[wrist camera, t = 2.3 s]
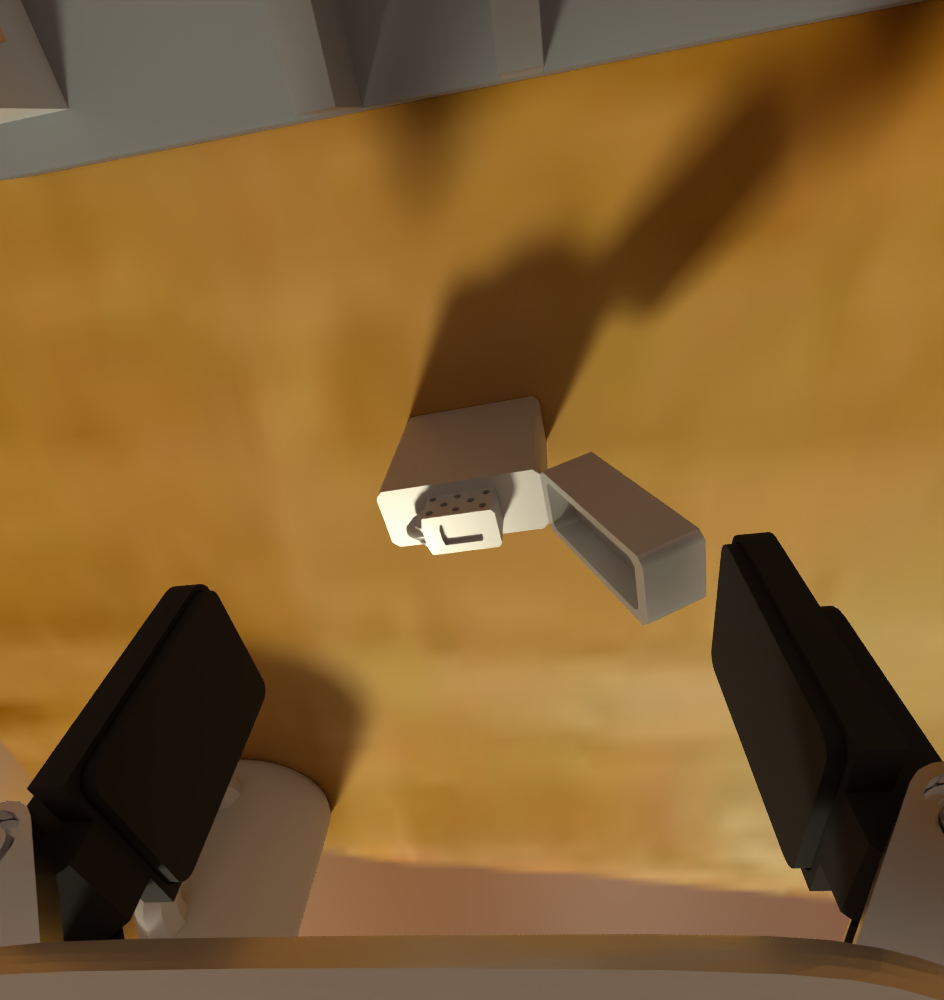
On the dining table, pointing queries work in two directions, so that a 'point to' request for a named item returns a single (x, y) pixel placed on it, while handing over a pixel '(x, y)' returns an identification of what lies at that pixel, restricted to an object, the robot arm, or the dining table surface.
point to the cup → (249, 861)
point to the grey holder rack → (309, 60)
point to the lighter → (538, 504)
